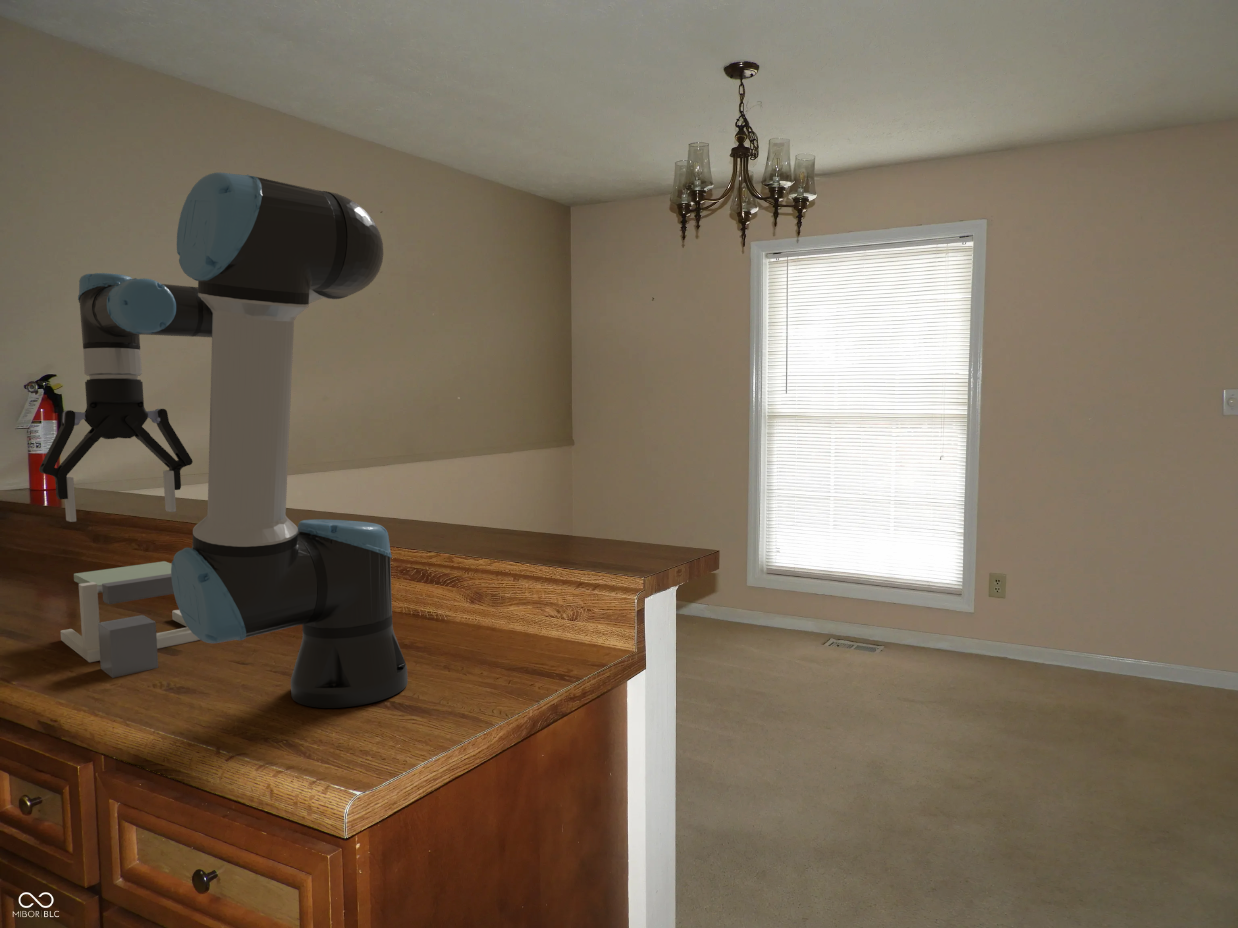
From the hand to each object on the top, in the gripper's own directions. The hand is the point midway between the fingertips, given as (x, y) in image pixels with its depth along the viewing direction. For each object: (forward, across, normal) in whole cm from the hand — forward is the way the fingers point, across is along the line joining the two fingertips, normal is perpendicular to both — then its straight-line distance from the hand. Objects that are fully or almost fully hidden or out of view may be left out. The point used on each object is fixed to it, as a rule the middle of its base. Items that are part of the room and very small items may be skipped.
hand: (122, 516), depth 128 cm
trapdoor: (+13, -4, -9) cm, 16 cm away
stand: (+22, -4, -9) cm, 24 cm away
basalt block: (+22, +2, +7) cm, 23 cm away
